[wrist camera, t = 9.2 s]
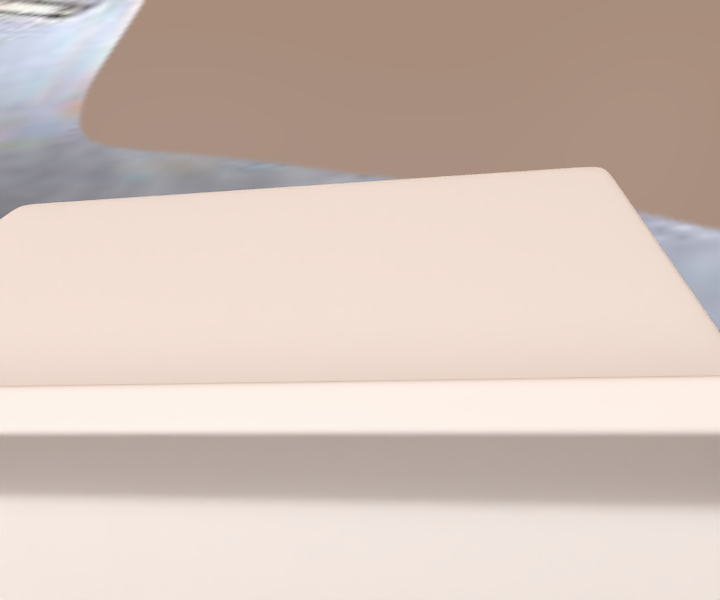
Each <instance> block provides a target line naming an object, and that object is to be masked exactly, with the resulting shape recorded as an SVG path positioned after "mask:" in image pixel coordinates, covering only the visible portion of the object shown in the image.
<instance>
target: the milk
mask: <svg viewBox="0 0 720 600" xmlns="http://www.w3.org/2000/svg"><path fill="white" fill-rule="evenodd" d="M0 600H720V331H719V330H718V328H717V327H716V325H715V324H714V323H713V321H712V320H711V318H710V317H709V315H708V314H707V312H706V311H705V310H704V308H703V307H702V305H701V304H700V302H699V301H698V300H697V298H696V297H695V295H694V294H693V292H692V291H691V289H690V288H689V287H688V285H687V284H686V282H685V281H684V279H683V278H682V276H681V275H680V274H679V272H678V271H677V269H676V268H675V266H674V265H673V264H672V262H671V261H670V259H669V258H668V256H667V255H666V253H665V252H664V251H663V249H662V248H661V246H660V245H659V243H658V242H657V241H656V239H655V238H654V236H653V235H652V233H651V232H650V230H649V229H648V228H647V226H646V225H645V223H644V222H643V220H642V219H641V217H640V216H639V215H638V213H637V212H636V210H635V209H634V207H633V206H632V205H631V203H630V202H629V200H628V199H627V197H626V196H625V194H624V193H623V192H622V190H621V189H620V187H619V186H618V185H617V183H616V182H615V180H614V179H613V178H612V176H611V175H610V174H609V173H608V172H607V171H606V170H605V169H603V168H600V167H579V168H564V169H549V170H534V171H519V172H505V173H490V174H475V175H462V176H461V175H460V176H445V177H430V178H415V179H400V180H385V181H371V182H356V183H341V184H326V185H311V186H296V187H281V188H267V189H252V190H237V191H222V192H207V193H192V194H177V195H163V196H148V197H133V198H118V199H103V200H88V201H73V202H59V203H44V204H32V205H25V206H21V207H19V208H17V209H15V210H13V211H12V212H10V213H9V214H7V215H6V216H5V217H3V218H2V219H0Z"/></svg>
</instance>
